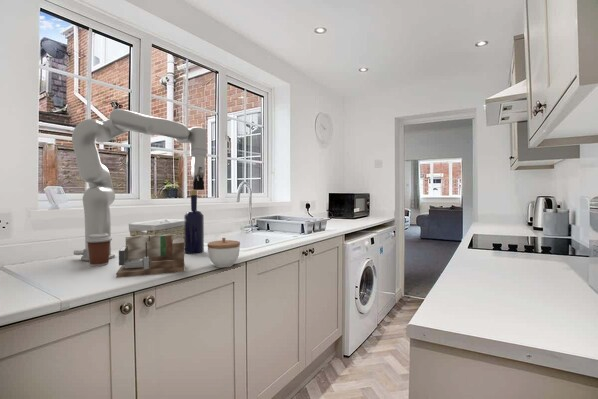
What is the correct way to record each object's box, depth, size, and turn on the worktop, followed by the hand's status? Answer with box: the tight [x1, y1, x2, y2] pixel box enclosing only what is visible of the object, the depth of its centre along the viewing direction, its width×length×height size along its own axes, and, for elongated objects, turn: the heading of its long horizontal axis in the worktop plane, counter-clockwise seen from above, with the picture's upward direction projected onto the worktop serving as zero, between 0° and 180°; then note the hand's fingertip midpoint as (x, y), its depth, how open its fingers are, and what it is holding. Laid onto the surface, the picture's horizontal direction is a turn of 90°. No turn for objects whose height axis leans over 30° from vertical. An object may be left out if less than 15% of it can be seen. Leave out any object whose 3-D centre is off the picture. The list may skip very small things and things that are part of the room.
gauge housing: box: [115, 234, 185, 278], centre depth 120 cm, size 22×15×12 cm
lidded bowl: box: [207, 237, 241, 268], centre depth 127 cm, size 13×13×11 cm
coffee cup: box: [84, 234, 113, 267], centre depth 129 cm, size 9×9×12 cm
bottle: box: [183, 189, 205, 255], centre depth 153 cm, size 9×9×30 cm
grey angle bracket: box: [118, 245, 144, 269], centre depth 117 cm, size 8×11×7 cm
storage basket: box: [128, 218, 185, 248], centre depth 158 cm, size 24×16×15 cm
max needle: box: [144, 242, 149, 269], centre depth 114 cm, size 2×1×10 cm
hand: (198, 189), depth 152 cm, fingers open, 9 cm apart
